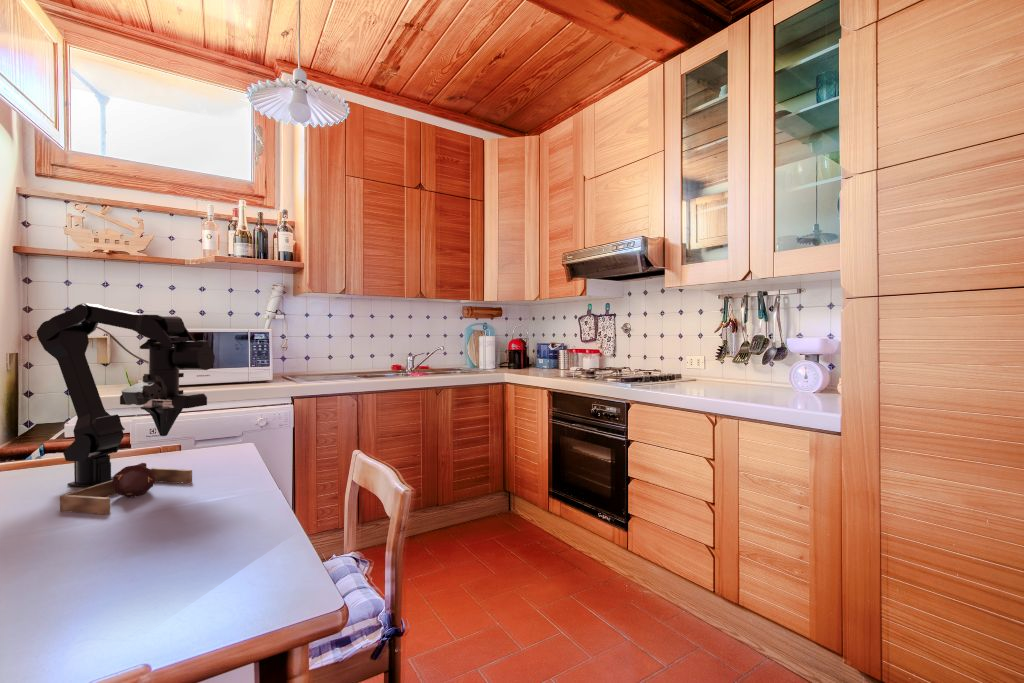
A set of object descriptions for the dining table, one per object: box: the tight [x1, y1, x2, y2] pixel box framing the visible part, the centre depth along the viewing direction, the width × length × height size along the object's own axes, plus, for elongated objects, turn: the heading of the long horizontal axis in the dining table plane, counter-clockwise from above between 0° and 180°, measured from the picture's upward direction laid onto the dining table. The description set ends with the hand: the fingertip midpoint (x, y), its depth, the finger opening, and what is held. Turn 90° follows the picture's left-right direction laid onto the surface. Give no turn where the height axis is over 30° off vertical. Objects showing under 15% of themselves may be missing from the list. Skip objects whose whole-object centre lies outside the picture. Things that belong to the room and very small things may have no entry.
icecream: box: [112, 462, 155, 499], centre depth 104 cm, size 7×7×15 cm
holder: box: [59, 467, 193, 515], centre depth 104 cm, size 11×20×3 cm, turn 171°
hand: (163, 435), depth 112 cm, fingers closed
